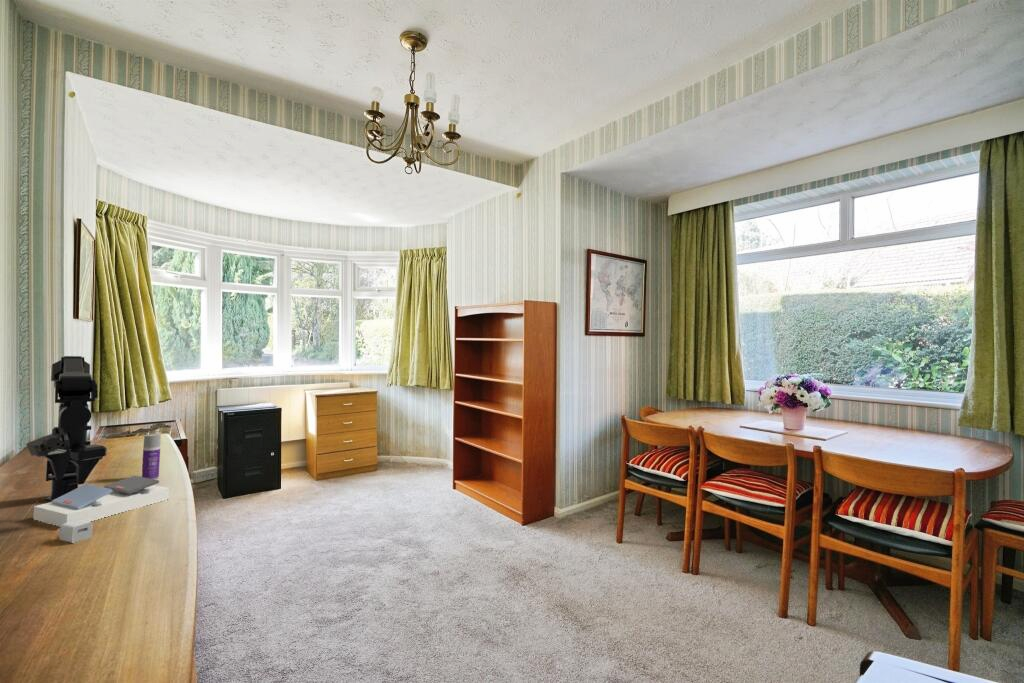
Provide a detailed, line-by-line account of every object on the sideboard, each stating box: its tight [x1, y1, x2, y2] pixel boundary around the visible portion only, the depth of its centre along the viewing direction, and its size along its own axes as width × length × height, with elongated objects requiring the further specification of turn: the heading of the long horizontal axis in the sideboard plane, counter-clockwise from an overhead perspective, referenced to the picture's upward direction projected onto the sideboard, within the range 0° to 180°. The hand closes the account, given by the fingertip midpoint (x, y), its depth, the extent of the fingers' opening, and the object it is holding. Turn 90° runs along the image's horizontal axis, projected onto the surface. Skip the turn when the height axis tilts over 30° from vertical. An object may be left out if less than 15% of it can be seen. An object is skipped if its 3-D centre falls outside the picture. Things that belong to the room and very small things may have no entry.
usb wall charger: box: [57, 520, 93, 544], centre depth 112 cm, size 4×7×4 cm, turn 73°
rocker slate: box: [51, 483, 113, 510], centre depth 126 cm, size 11×8×2 cm
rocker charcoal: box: [103, 475, 160, 494], centre depth 138 cm, size 11×8×2 cm
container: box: [141, 433, 161, 480], centre depth 161 cm, size 5×5×15 cm
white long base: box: [32, 484, 170, 528], centre depth 132 cm, size 14×25×4 cm, turn 160°
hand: (69, 482), depth 123 cm, fingers open, 9 cm apart
